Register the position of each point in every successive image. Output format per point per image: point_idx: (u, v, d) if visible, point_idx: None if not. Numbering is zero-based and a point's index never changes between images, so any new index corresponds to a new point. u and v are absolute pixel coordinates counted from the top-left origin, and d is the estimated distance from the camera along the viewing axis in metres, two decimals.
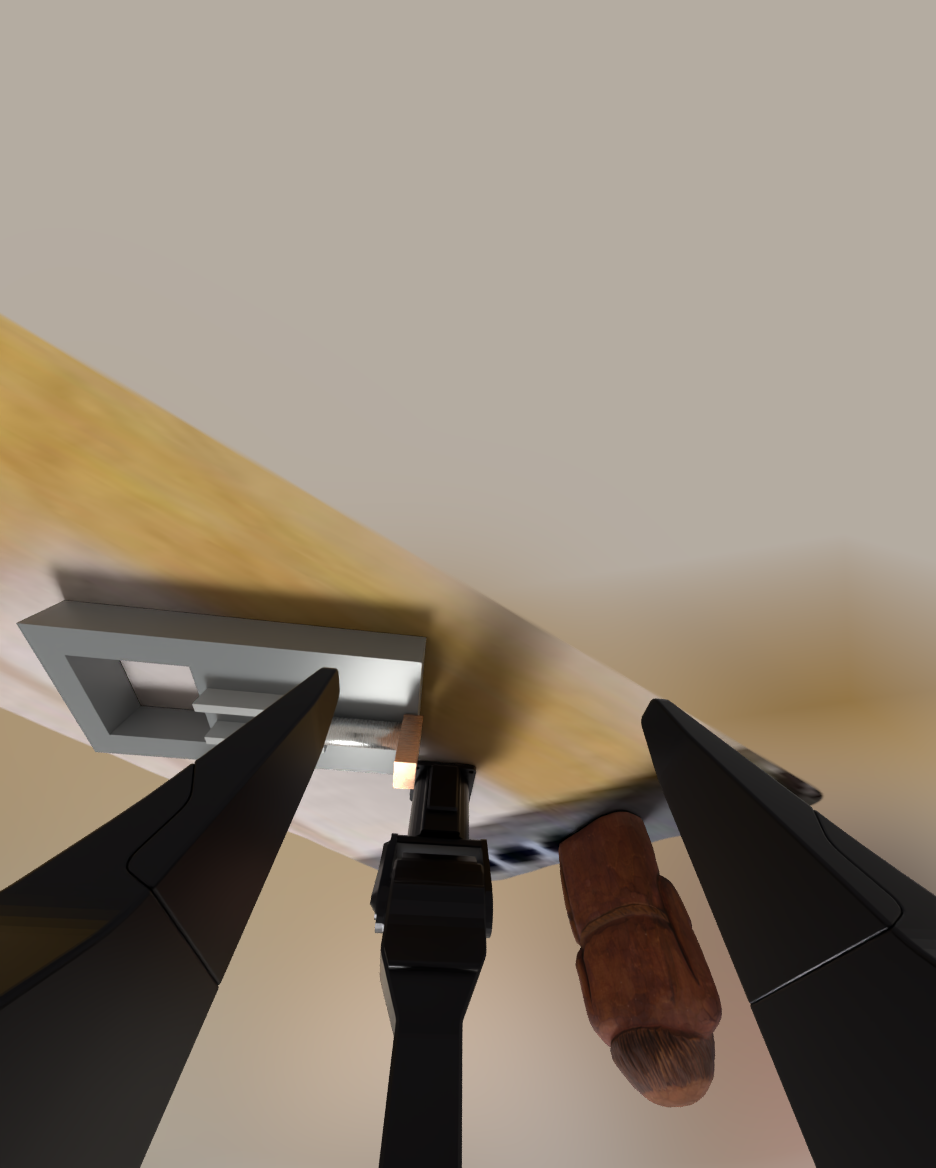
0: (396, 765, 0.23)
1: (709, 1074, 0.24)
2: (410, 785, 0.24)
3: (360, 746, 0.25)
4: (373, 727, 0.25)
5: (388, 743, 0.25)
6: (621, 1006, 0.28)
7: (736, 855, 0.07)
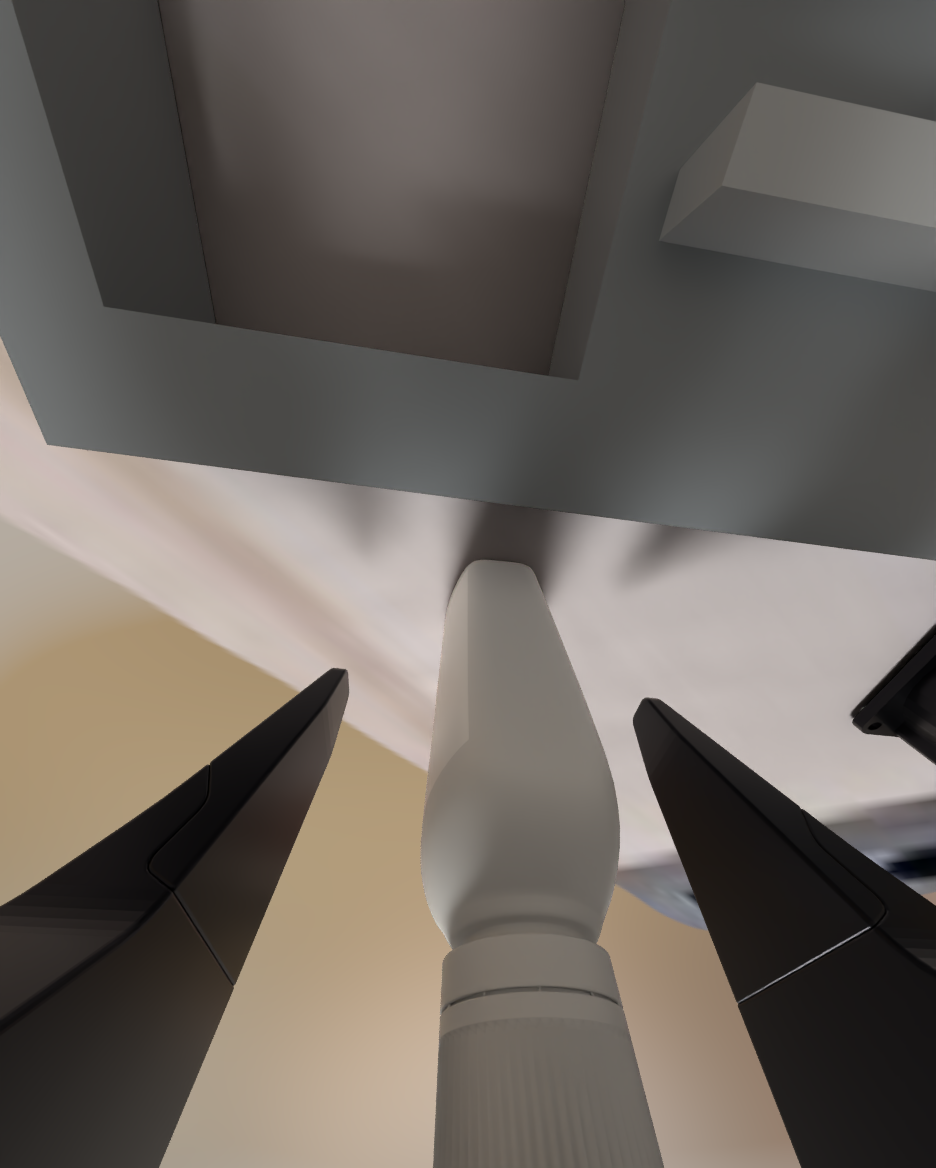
0: None
1: None
2: None
3: None
4: None
5: None
6: None
7: (724, 854, 0.07)
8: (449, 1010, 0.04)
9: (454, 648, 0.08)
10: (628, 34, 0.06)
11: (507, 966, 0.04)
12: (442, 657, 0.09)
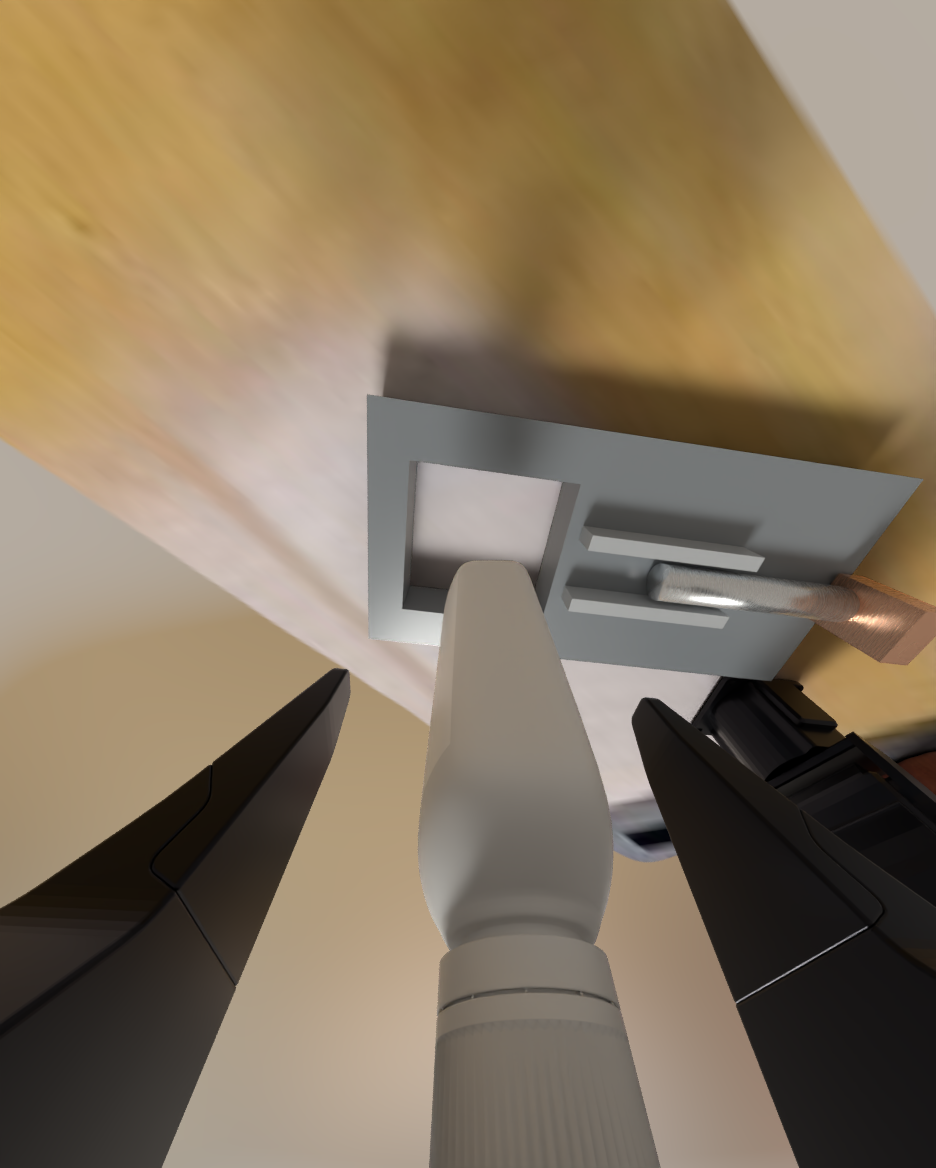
0: (923, 619, 0.15)
1: None
2: (907, 658, 0.16)
3: (801, 611, 0.18)
4: (815, 585, 0.18)
5: (844, 605, 0.17)
6: None
7: (722, 854, 0.07)
8: (443, 1014, 0.04)
9: (444, 652, 0.08)
10: (554, 532, 0.20)
11: (494, 968, 0.04)
12: None
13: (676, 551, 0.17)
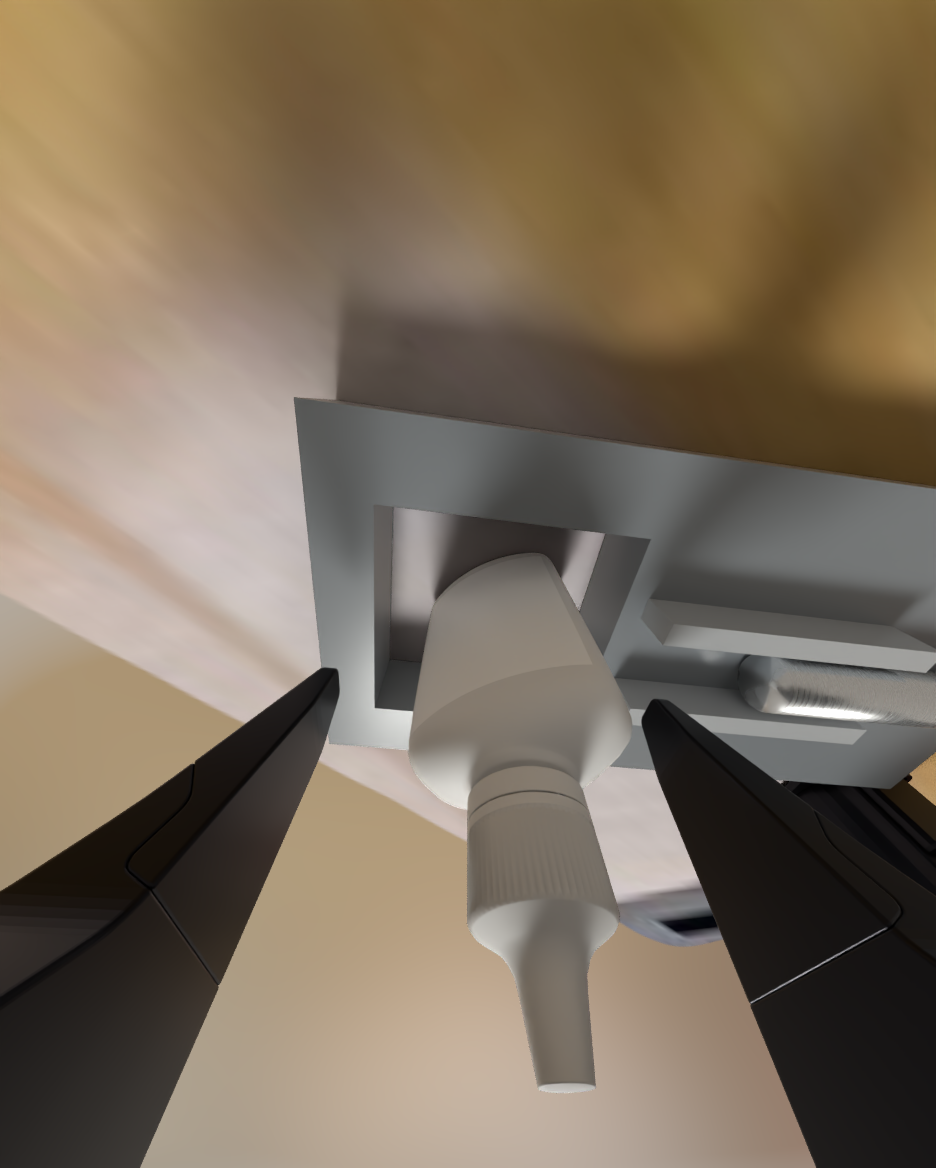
0: None
1: None
2: None
3: None
4: None
5: None
6: None
7: (736, 855, 0.07)
8: (521, 794, 0.06)
9: (540, 600, 0.10)
10: (595, 595, 0.14)
11: (570, 788, 0.06)
12: (501, 593, 0.11)
13: (805, 645, 0.10)
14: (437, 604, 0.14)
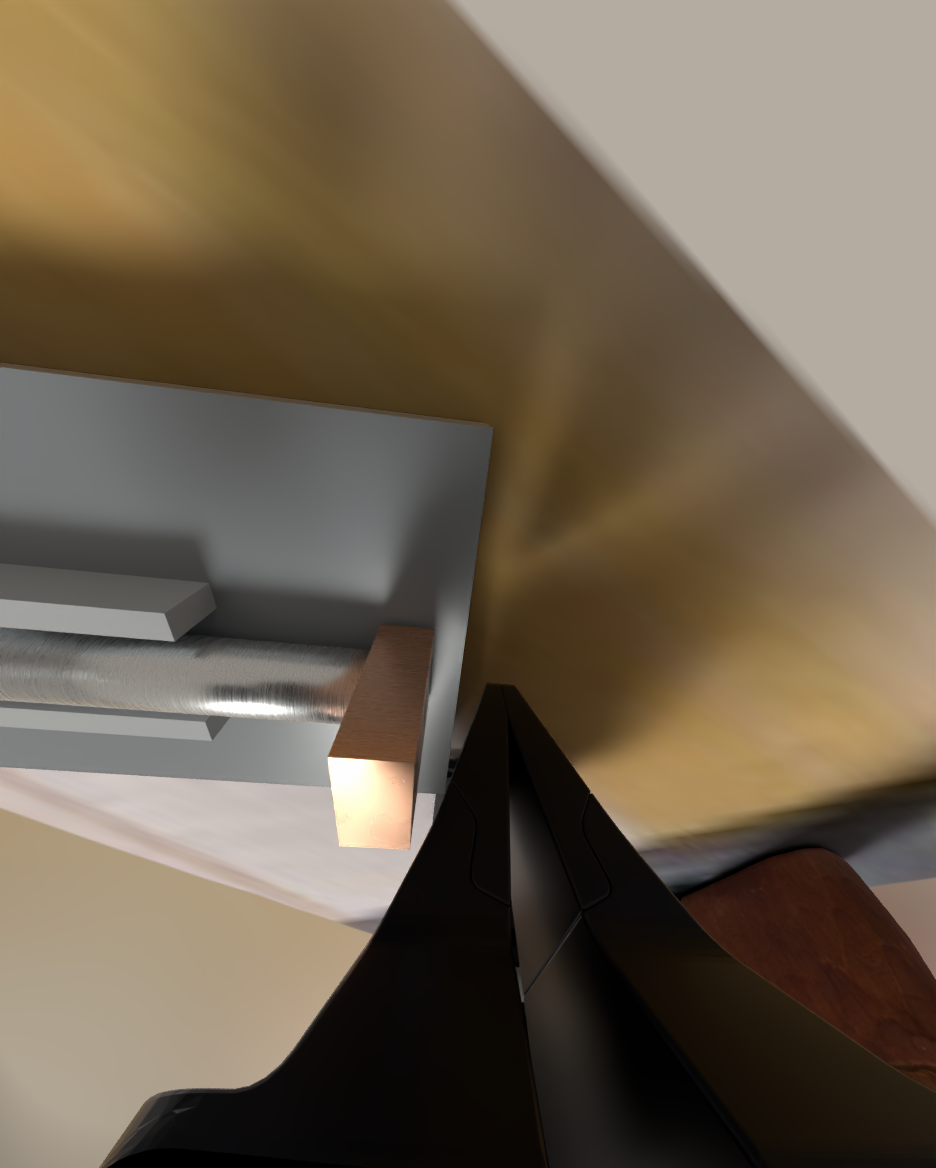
0: (338, 771, 0.06)
1: None
2: (395, 838, 0.07)
3: (246, 714, 0.08)
4: (287, 656, 0.08)
5: (330, 701, 0.08)
6: None
7: (522, 841, 0.06)
8: None
9: None
10: None
11: None
12: None
13: None
14: None
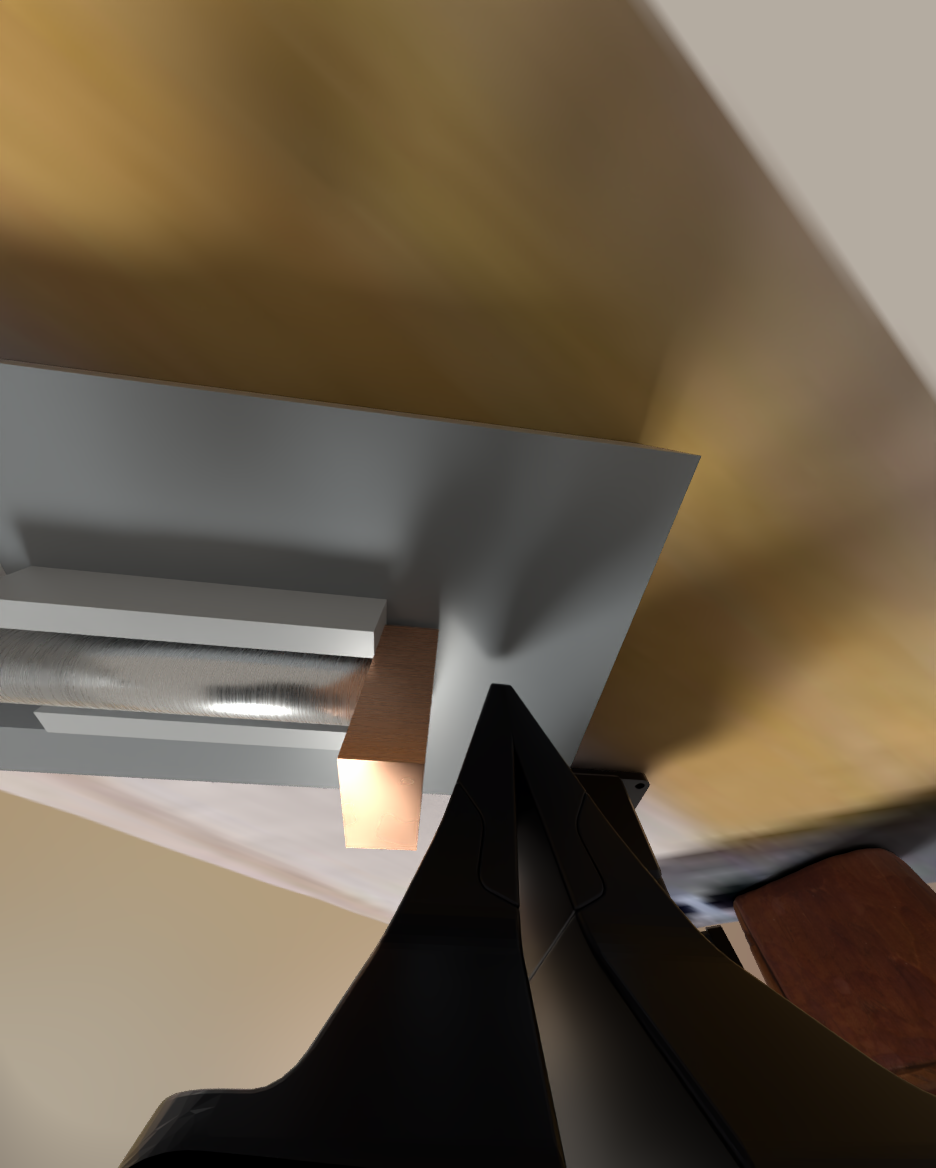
0: (347, 772, 0.06)
1: None
2: (402, 839, 0.07)
3: (250, 716, 0.08)
4: (291, 657, 0.08)
5: (335, 702, 0.08)
6: None
7: (518, 841, 0.06)
8: None
9: None
10: None
11: None
12: None
13: (168, 623, 0.08)
14: None
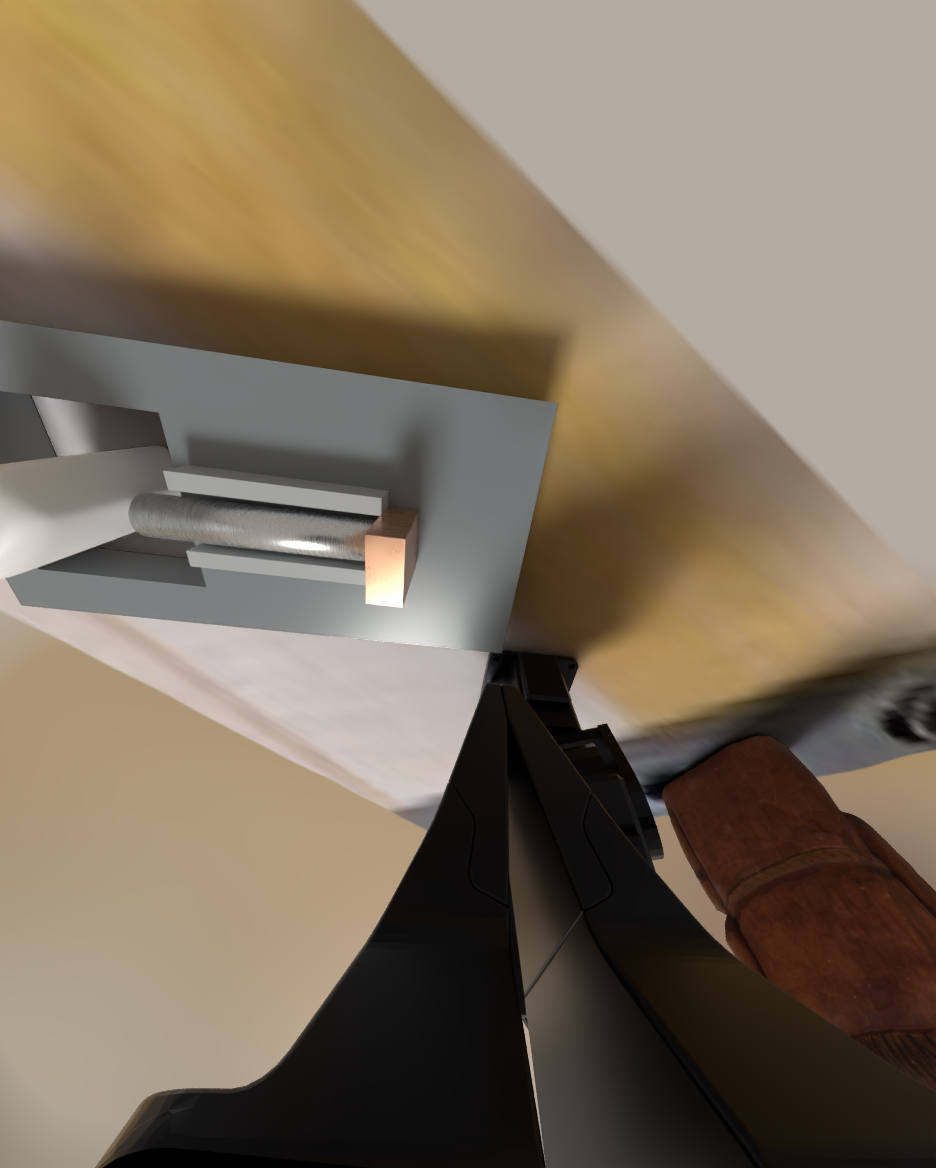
0: (369, 544, 0.12)
1: None
2: (395, 597, 0.13)
3: (312, 548, 0.15)
4: (335, 517, 0.15)
5: (359, 540, 0.15)
6: (839, 997, 0.18)
7: (523, 841, 0.06)
8: None
9: None
10: None
11: None
12: None
13: (272, 490, 0.14)
14: None
